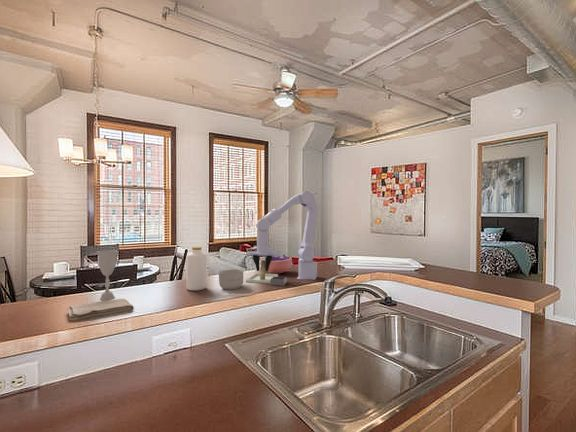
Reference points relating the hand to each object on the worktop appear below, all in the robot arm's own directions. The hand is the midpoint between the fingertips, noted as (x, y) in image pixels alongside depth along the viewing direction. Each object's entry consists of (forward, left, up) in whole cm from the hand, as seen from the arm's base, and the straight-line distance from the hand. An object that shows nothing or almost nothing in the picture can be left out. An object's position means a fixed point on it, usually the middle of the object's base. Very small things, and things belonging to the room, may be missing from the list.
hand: (262, 271), depth 152 cm
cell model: (-2, -19, -5) cm, 20 cm away
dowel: (0, 0, -4) cm, 4 cm away
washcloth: (+39, +58, -5) cm, 70 cm away
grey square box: (-10, +8, -5) cm, 14 cm away
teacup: (+8, +18, -5) cm, 20 cm away
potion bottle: (+23, +23, -5) cm, 33 cm away
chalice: (+49, +44, -5) cm, 66 cm away
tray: (0, 0, -5) cm, 5 cm away
